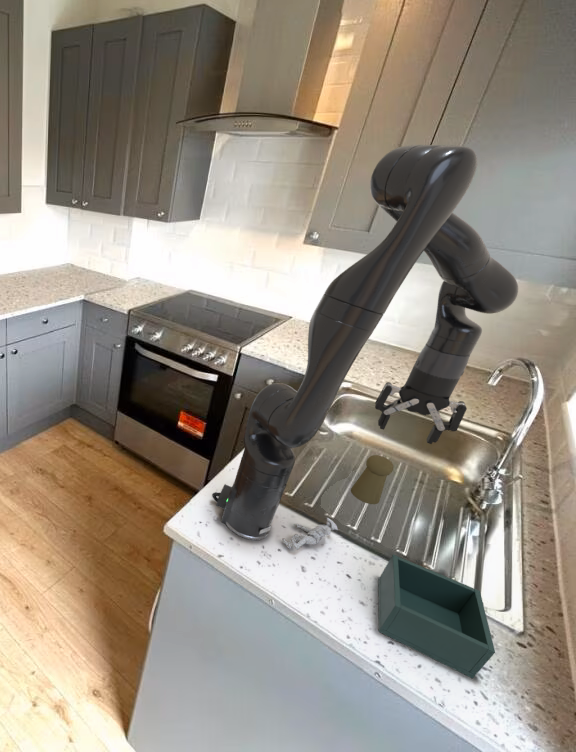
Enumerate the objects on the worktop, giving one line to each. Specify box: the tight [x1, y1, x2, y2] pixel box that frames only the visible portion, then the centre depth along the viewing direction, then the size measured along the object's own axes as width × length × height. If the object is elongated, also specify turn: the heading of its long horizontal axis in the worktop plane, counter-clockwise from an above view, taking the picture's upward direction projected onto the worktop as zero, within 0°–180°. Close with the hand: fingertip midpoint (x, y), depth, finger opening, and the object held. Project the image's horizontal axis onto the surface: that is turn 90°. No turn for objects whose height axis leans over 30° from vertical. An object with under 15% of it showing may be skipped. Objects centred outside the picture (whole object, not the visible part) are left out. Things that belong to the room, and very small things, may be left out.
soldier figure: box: [282, 517, 339, 551], centre depth 89 cm, size 8×5×12 cm
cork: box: [350, 454, 394, 505], centre depth 102 cm, size 6×6×11 cm
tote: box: [377, 554, 496, 679], centre depth 73 cm, size 13×13×7 cm
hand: (404, 434), depth 94 cm, fingers open, 8 cm apart
